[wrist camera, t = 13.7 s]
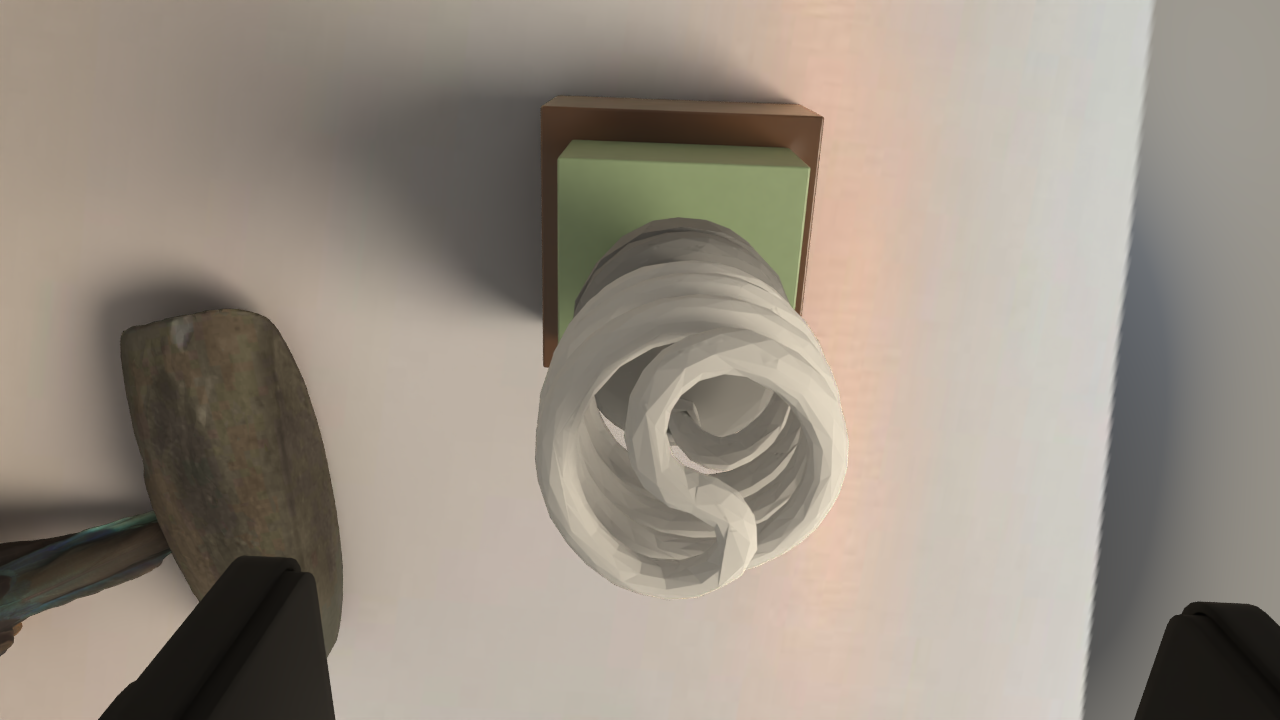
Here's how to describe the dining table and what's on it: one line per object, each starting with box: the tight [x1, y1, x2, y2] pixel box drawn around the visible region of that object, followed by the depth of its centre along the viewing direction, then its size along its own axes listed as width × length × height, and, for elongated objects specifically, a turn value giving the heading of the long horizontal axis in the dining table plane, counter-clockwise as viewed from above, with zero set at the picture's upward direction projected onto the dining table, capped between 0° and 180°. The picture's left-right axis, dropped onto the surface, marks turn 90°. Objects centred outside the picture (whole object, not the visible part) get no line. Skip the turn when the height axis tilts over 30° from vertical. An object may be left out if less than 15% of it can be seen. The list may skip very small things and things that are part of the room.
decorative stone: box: [120, 309, 343, 657], centre depth 35 cm, size 17×6×4 cm, turn 7°
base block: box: [541, 95, 824, 367], centre depth 30 cm, size 9×9×4 cm
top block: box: [557, 140, 810, 344], centre depth 26 cm, size 7×7×4 cm
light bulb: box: [535, 217, 849, 600], centre depth 18 cm, size 6×6×12 cm
